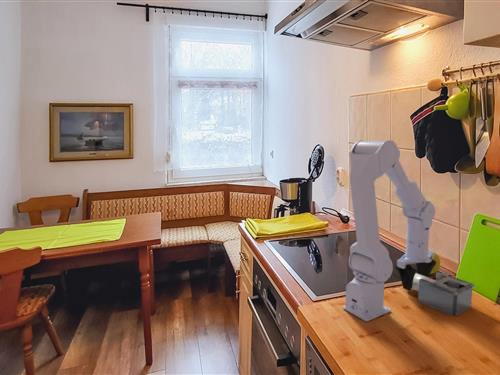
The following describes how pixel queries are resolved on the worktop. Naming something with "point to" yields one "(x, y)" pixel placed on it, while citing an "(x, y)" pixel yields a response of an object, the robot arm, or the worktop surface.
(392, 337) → the worktop surface
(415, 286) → the cartridge
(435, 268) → the lemon
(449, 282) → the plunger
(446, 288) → the housing
